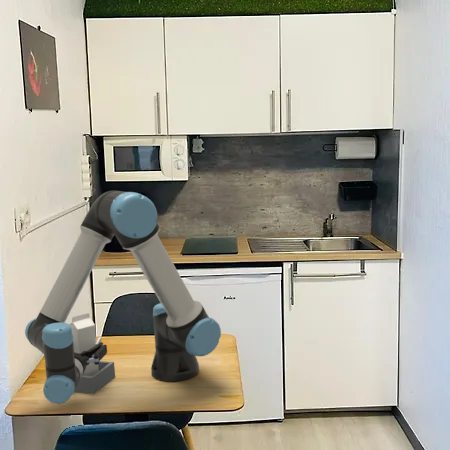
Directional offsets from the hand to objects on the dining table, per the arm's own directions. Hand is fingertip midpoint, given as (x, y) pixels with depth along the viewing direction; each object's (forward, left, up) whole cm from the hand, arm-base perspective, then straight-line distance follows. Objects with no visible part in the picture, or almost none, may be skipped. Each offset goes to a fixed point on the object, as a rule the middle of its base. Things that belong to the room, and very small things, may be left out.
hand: (85, 342), depth 195 cm
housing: (-1, +4, -12) cm, 13 cm away
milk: (-1, +4, -12) cm, 13 cm away
